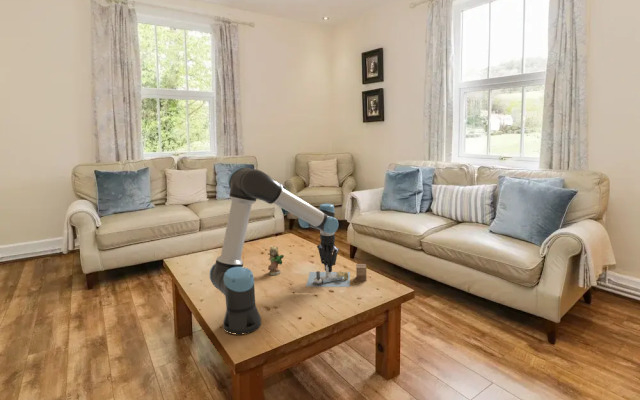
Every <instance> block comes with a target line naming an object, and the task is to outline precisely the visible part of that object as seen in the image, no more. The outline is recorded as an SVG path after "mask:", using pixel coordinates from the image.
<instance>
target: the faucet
mask: <svg viewBox="0 0 640 400" xmlns="http://www.w3.org/2000/svg"><path fill="white" fill-rule="evenodd" d="M342 279H343V276H342V277H339V276H338V274H336V275H331V276H326V277H321V278H320V279H317V278H314V284H317V285H319V284H322V283H327V282H332V281H337V280H342Z"/></svg>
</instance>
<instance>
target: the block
mask: <svg viewBox="0 0 640 400" xmlns="http://www.w3.org/2000/svg"><path fill="white" fill-rule="evenodd" d="M355 267H356V268H355V269H356V271H355V272H356V281H357V282H361V281H362V282H367V264H366V263H356V265H355Z"/></svg>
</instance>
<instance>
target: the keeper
mask: <svg viewBox="0 0 640 400" xmlns="http://www.w3.org/2000/svg"><path fill="white" fill-rule="evenodd" d="M336 272H337V274H338V276H339V277H342V276H344V279H345V280H348V273H347V272H348V271H342V270H339V271H336Z"/></svg>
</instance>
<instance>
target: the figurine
mask: <svg viewBox="0 0 640 400" xmlns="http://www.w3.org/2000/svg"><path fill="white" fill-rule="evenodd" d="M278 249H279V247H278V246H270V247H269V250H268V253H267V255H269V258H268V260H269V261H270V265H268V267H267V270H268V271H269V272H268V274H269V276H278V275H280V274H281V270H280V269H279V265H282V264H283V261H282V259H284V254H279V250H278Z"/></svg>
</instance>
